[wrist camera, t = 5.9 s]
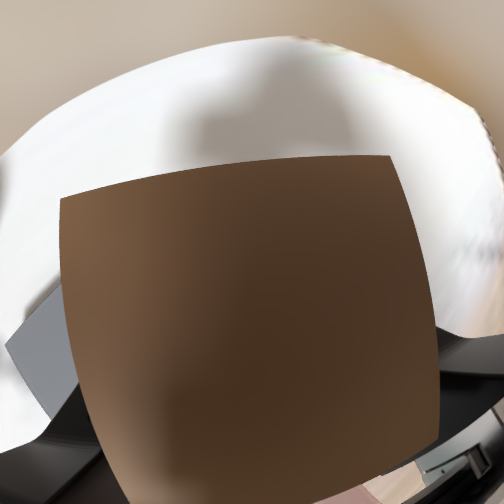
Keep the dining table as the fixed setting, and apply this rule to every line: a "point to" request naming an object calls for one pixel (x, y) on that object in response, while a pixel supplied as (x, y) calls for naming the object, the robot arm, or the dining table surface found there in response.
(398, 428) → the walnut block
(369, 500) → the dusty pink block
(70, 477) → the robot arm
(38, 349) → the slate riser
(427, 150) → the dining table surface
